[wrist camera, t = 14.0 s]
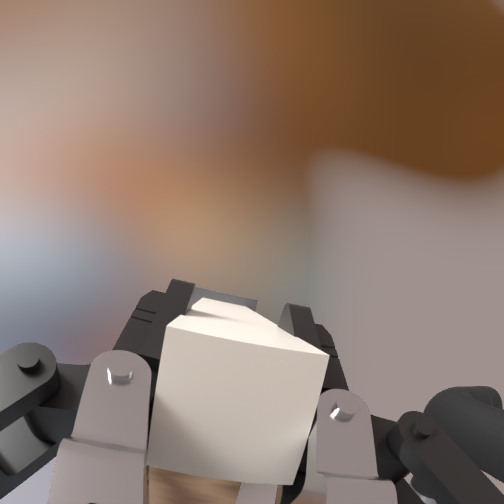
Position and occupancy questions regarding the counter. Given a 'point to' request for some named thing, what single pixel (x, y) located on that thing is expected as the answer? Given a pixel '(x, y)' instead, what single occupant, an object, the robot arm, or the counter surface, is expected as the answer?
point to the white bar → (233, 394)
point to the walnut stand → (189, 488)
